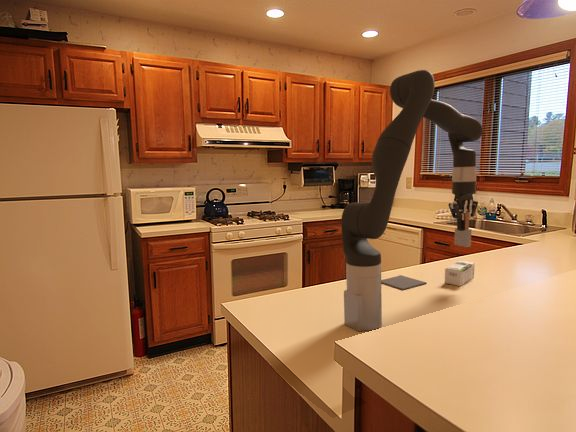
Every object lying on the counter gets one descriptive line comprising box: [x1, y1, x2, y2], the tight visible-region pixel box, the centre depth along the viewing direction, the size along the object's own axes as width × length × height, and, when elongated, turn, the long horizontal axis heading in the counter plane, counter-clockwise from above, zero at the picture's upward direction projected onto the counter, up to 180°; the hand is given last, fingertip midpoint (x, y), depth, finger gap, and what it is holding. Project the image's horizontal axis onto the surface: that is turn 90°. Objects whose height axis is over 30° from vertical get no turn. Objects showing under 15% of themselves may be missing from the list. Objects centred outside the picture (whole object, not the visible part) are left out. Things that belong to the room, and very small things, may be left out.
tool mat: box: [381, 275, 427, 291], centre depth 137 cm, size 12×12×1 cm
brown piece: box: [453, 211, 472, 248], centre depth 130 cm, size 2×5×12 cm, turn 30°
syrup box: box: [444, 260, 475, 287], centre depth 137 cm, size 6×6×14 cm
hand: (463, 229), depth 130 cm, fingers closed on brown piece, 2 cm apart
